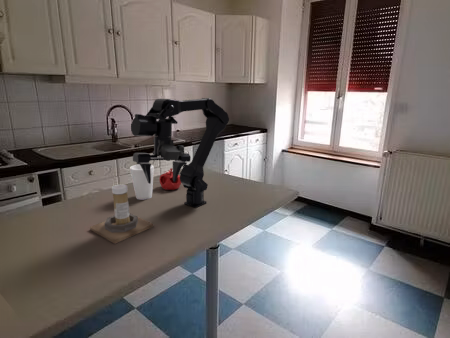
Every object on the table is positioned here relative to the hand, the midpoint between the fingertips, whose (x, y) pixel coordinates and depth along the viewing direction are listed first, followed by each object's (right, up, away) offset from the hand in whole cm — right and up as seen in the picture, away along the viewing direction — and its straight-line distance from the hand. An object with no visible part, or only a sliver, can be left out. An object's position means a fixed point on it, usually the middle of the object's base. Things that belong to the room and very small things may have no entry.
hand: (162, 182), depth 99 cm
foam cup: (-12, -7, +22) cm, 26 cm away
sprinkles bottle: (-11, -14, -6) cm, 19 cm away
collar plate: (-12, -15, -6) cm, 19 cm away
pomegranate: (-3, -4, +33) cm, 34 cm away
